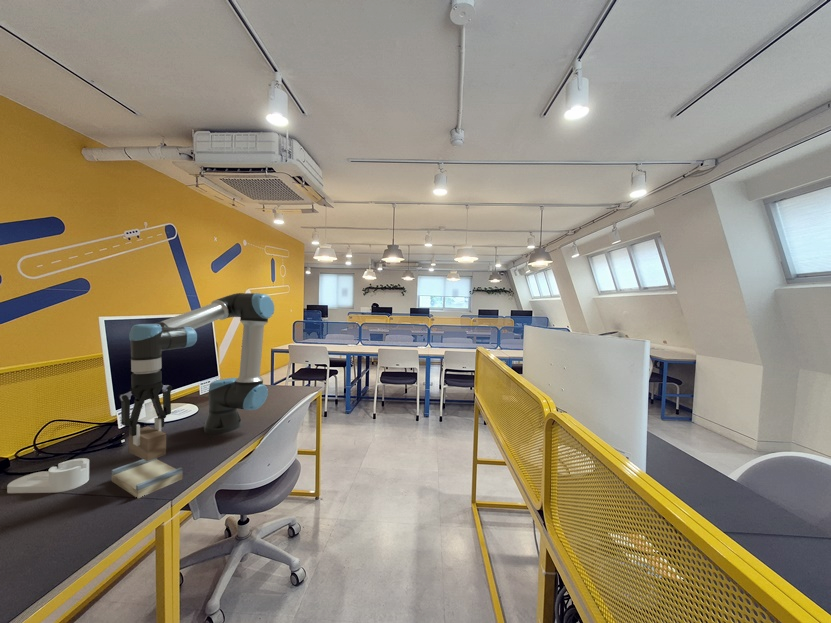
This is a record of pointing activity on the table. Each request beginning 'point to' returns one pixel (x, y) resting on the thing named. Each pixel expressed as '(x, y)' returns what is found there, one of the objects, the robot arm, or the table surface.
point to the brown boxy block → (149, 444)
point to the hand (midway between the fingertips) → (147, 440)
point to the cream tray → (145, 476)
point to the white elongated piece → (53, 478)
